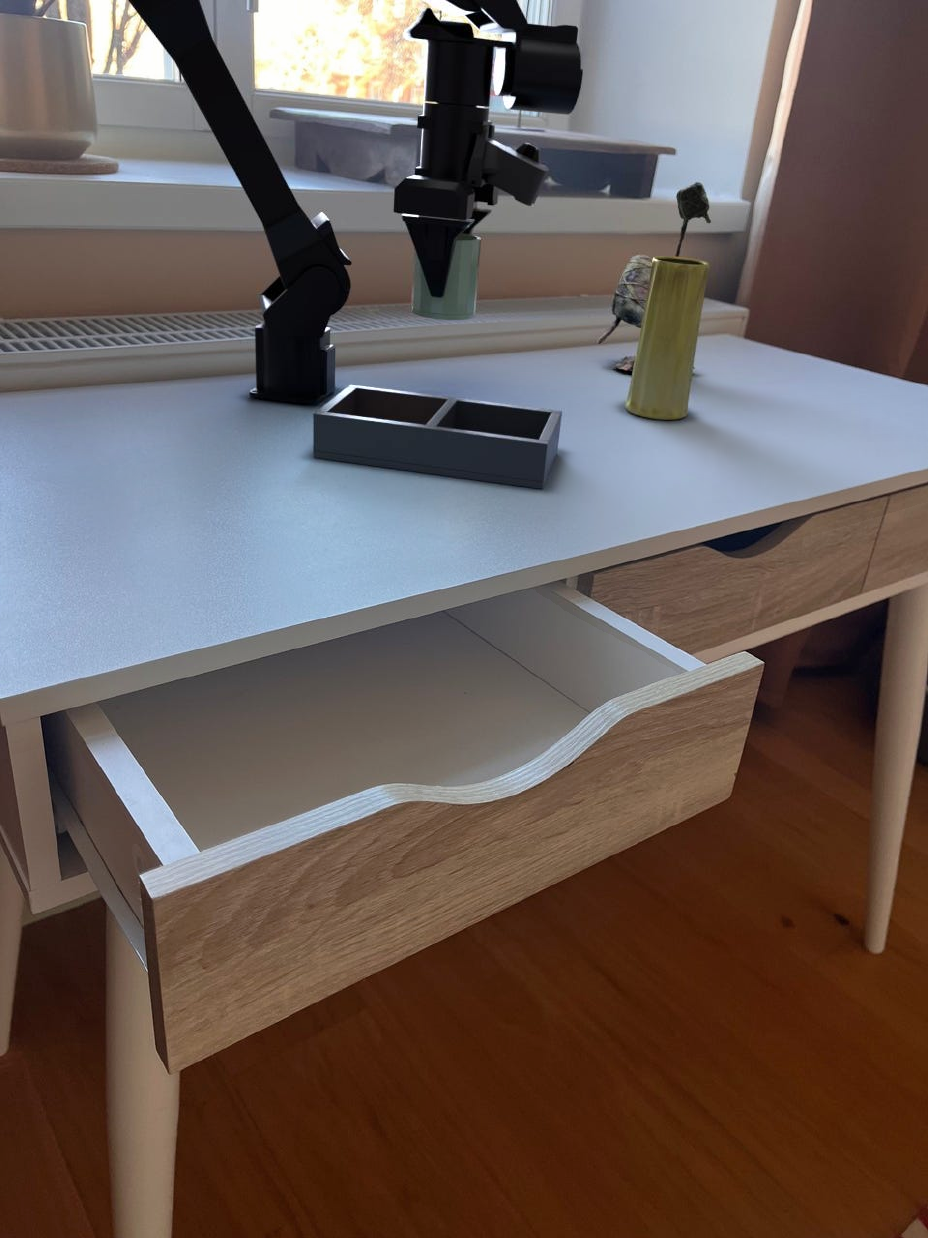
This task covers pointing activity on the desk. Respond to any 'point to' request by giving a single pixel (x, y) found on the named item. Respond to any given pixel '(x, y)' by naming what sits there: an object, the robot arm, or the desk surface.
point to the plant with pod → (637, 272)
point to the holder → (438, 435)
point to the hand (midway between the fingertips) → (443, 291)
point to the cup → (450, 284)
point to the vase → (668, 338)
